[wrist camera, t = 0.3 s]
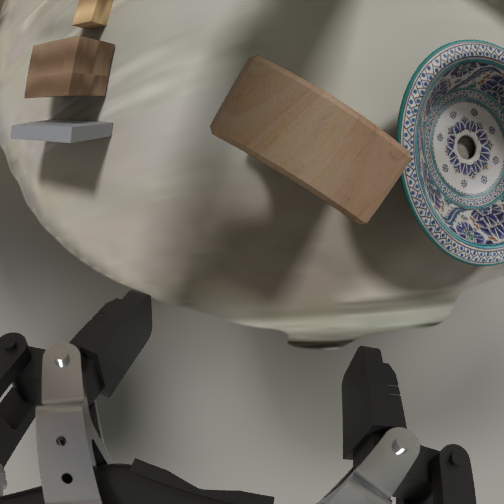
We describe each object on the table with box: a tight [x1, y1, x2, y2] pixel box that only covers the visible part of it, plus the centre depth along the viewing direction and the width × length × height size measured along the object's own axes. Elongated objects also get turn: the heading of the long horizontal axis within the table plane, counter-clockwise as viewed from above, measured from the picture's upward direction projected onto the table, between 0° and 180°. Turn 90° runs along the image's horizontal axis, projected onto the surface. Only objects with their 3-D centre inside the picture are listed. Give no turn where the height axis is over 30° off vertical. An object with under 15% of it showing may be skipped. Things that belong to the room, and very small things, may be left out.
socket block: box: [25, 36, 115, 98], centre depth 30 cm, size 8×10×8 cm
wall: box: [11, 120, 113, 143], centre depth 34 cm, size 2×14×9 cm, turn 79°
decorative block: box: [210, 56, 411, 224], centre depth 25 cm, size 11×6×20 cm, turn 59°
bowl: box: [397, 40, 504, 266], centre depth 26 cm, size 25×25×10 cm
